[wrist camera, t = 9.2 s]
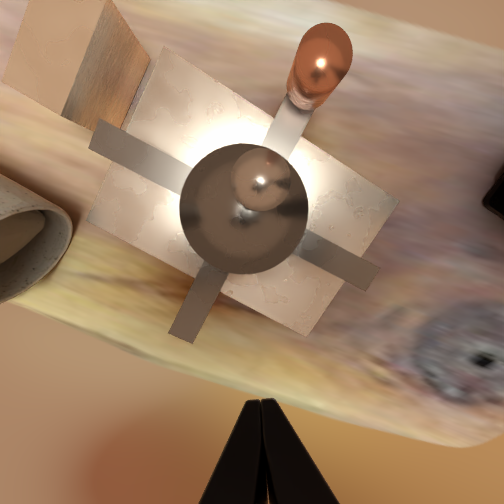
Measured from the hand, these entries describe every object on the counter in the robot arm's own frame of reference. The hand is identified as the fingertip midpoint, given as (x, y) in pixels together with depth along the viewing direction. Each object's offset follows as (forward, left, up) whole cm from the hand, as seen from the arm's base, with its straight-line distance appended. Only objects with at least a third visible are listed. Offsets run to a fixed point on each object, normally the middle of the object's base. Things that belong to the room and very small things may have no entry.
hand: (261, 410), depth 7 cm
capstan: (+3, -4, -9) cm, 11 cm away
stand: (+6, -4, -13) cm, 15 cm away
